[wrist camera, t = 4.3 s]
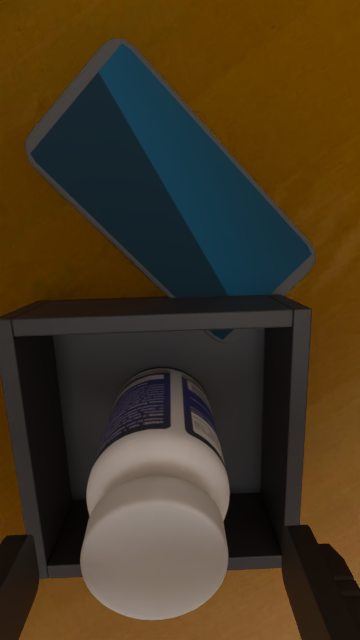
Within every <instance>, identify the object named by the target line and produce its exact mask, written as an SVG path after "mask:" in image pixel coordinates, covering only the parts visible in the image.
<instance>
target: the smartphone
mask: <svg viewBox="0 0 360 640" xmlns="http://www.w3.org/2000/svg"><path fill="white" fill-rule="evenodd" d="M25 147H26V156H27V158H28V159H29V161H30V163H31V164H32V166H33V167H34V168H35V169H36V170H37V171H38V172H39V173H40V174H41V175H42V176H43V177H44V178H45V179H46V180H47V181H48V182H49V183H50V184H52V186H53V187H54V188H55V189H56V190H57V191H58V192H59V193H60V194H61V195H62V196H63V197H64V198H65V199H66V200H67V201H69V202H70V203H71V204H72V205H73V206H74V207H75V208H76V209H77V210H78V211H79V212H80V213H81V214H82V215H83V216H84V217H85V218H86V219H87V220H88V221H89V222H90V223H91V224H92V225H93V226H94V227H96V228H97V229H98V230H99V231H100V232H101V233H102V234H103V235H104V236H105V237H107V238H108V239H109V240H110V241H111V242H112V243H113V244H114V245H115V246H116V247H117V248H118V249H119V250H120V251H121V252H122V253H123V254H124V255H125V256H126V257H127V258H128V259H129V260H130V261H131V262H132V263H134V264H135V265H136V266H137V267H138V268H139V269H140V270H141V271H142V272H143V273H144V274H145V275H146V276H147V277H148V278H149V279H150V280H151V281H152V282H153V283H154V284H155V285H156V286H157V287H158V288H159V289H161V290H162V291H163V292H164V293H165V294H166V295H167V296H168V297H169V298H187V297H216V296H245V295H275V294H280V295H282V296H284V295H285V294H286V293H287V292H288V291H289V290H290V289H291V288H293V287H294V286H295V285H296V284H297V283H298V282H299V281H300V280H301V279H302V278H303V277H304V276H305V275H306V274H307V273H308V272H309V271H310V270H311V268H312V266H313V265H314V263H315V253H316V251H315V250H314V248H313V246H312V244H311V243H310V241H309V240H308V239H307V238H306V237H305V236H304V235H303V234H302V233H301V231H300V230H299V229H298V228H297V227H296V226H295V225H294V224H293V223H292V221H291V220H290V219H289V218H288V217H287V216H286V215H285V214H284V212H283V211H282V210H281V209H280V208H279V207H278V206H277V205H276V204H275V202H274V201H273V200H272V199H271V198H270V197H269V196H268V195H267V194H266V192H265V191H264V190H263V189H262V188H261V187H260V186H259V185H258V183H257V182H256V181H255V180H254V179H253V178H252V177H251V176H250V175H249V173H248V172H247V171H246V170H245V169H244V168H243V167H242V166H241V165H240V163H239V162H238V161H237V160H236V159H235V158H234V157H233V156H232V155H231V153H230V152H229V151H228V150H227V149H226V148H225V147H224V146H223V144H222V143H221V142H220V141H219V140H218V139H217V138H216V137H215V136H214V134H213V133H212V132H211V131H210V130H209V129H208V128H207V127H206V126H205V124H204V123H203V122H202V121H201V120H200V119H199V118H198V117H197V115H196V114H195V113H194V112H193V111H192V110H191V109H190V108H189V107H188V105H187V104H186V103H185V102H184V101H183V100H182V99H181V98H180V96H179V95H178V94H177V93H176V92H175V91H174V90H173V89H172V87H171V86H170V85H169V84H168V83H167V82H166V81H165V80H164V79H163V78H162V76H161V75H160V74H159V73H158V72H157V71H156V70H155V69H154V68H153V66H152V65H151V64H150V63H149V62H148V61H147V60H146V59H145V58H144V56H143V55H142V54H141V53H140V52H139V51H138V50H137V49H136V47H135V46H134V45H132V44H131V43H129V42H127V41H126V40H124V39H111V40H109V41H108V42H106V43H105V44H103V45H102V46H101V47H100V48H99V49H98V51H97V52H96V53H95V54H94V56H93V57H92V58H91V59H90V60H89V62H88V63H87V64H86V65H85V67H84V68H83V69H82V70H81V71H80V73H79V74H78V75H77V76H76V77H75V79H74V80H73V81H72V82H71V84H70V85H69V86H68V87H67V88H66V90H65V91H64V92H63V93H62V94H61V96H60V97H59V98H58V99H57V101H56V102H55V103H54V104H53V105H52V107H51V108H50V109H49V110H48V111H47V113H46V114H45V115H44V116H43V118H42V119H41V120H40V121H39V122H38V124H37V125H36V126H35V127H34V128H33V130H32V131H31V132H30V134H29V136H28V138H27V141H26V143H25ZM247 330H248V329H224V330H203V331H204V332H205V333H206V334H207V335H208V336H209V337H210V338H212V339H213V340H215V341H217V342H218V343H232V342H233V341H235V340H237V339H239V338H240V337H241V336H242V335H243V334H244V333H245V332H246V331H247Z"/></svg>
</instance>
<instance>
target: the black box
mask: <svg viewBox="0 0 360 640" xmlns="http://www.w3.org/2000/svg"><path fill="white" fill-rule="evenodd" d="M311 316H312V309H310V308H308V307H306V306H304V305H302V304H300V303H297V302H295V301H293V300H291V299H289V298H287V297H285V296H282V295H280V294H275V295H245V296H216V297H187V298H169V297H144V298H114V299H84V300H54V301H36V302H34V303H32V304H29V305H27V306H25V307H22V308H20V309H17V310H15V311H13V312H10V313H8V314H5V315H3V316H1V317H0V372H1V379H2V385H3V391H4V398H5V404H6V410H7V417H8V423H9V430H10V436H11V442H12V449H13V455H14V461H15V468H16V474H17V480H18V487H19V493H20V499H21V506H22V512H23V518H24V525H25V531H26V535H32V536H33V538H34V542H35V549H36V555H37V562H38V568H39V579H44V578H48V577H49V578H67V577H83V576H82V572H81V566H80V557H81V549H82V545H83V541H84V537H85V533H86V528H87V524H88V520H89V517H90V516H89V512H88V507H87V499H86V493H87V485H88V480H89V476H90V473H91V469H92V466H93V463H94V460H95V458H96V455H97V452H98V449H99V446H100V443H101V440H102V437H103V434H104V432H105V429H106V426H107V423H108V420H109V417H110V414H111V411H112V408H113V405H114V402H115V399H116V397H117V395H118V393H119V391H120V390H121V388H122V387H123V386H124V385H125V384H126V383H127V382H128V381H129V380H130V379H131V378H133V377H134V376H136V375H137V374H139V373H141V372H144V371H147V370H151V369H156V368H168V369H174V370H177V371H180V372H183V373H185V374H187V375H189V376H190V377H192V378H193V379H194V380H195V381H196V382H197V383H198V384H199V385H200V386H201V387H202V388H203V390H204V391H205V393H206V395H207V397H208V400H209V403H210V406H211V410H212V414H213V418H214V422H215V426H216V430H217V434H218V439H219V443H220V447H221V451H222V455H223V459H224V463H225V467H226V471H227V475H228V482H229V491H230V497H229V505H228V510H227V513H226V516H225V519H224V521H223V522H224V529H225V534H226V539H227V546H228V566H227V570H245V569H268V568H282V565H281V562H282V537H283V527H284V526H288V525H300V508H301V491H302V473H303V456H304V438H305V421H306V403H307V386H308V368H309V351H310V333H311ZM224 329H248V330H247V331H246V332H245V333H244V334H243V335H242V336H241V337H240V338H239V339H237V340H235V341H233V342H232V343H218V342H217V341H215V340H213V339H212V338H210V337H209V336H208V335H207V334H206V333H205V332H204V331H203V330H224Z"/></svg>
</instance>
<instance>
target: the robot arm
mask: <svg viewBox="0 0 360 640" xmlns="http://www.w3.org/2000/svg"><path fill="white" fill-rule="evenodd" d="M281 565H282V575H283V581H284V585H285V589H286V592H287V595H288V598H289V601H290V604H291V608H292V611H293V614H294V617H295V620H296V623H297V626H298V629H299V633H300V636H301V639H302V640H360V588H359V587H358V585H357V583H356V581H354V578H353V575H352V573H351V572H350V570H349V568H348V566H347V564H346V562H345V560H344V559H343V558H342V557H341V556H340V555H339V554H338V553H337V552H336V551H335V550H334V548H333V547H332V546H331V545H330V544H318V543H317V541H316V539H315V537H314V535H313V533H312V531H311V529H310V527H309V526H308V525H288V526H284V527H283V537H282V562H281ZM38 584H39V568H38V562H37V555H36V549H35V542H34V538H33V536H32V535H9V536H6V537H5V538H4V539H3V541H2V543H1V544H0V640H19V637H20V635H21V632H22V629H23V627H24V624H25V622H26V619H27V617H28V614H29V612H30V609H31V607H32V604H33V602H34V599H35V597H36V593H37V589H38Z"/></svg>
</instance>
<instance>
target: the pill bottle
mask: <svg viewBox="0 0 360 640" xmlns="http://www.w3.org/2000/svg"><path fill="white" fill-rule="evenodd" d="M229 497H230V491H229V482H228V475H227V471H226V467H225V463H224V459H223V455H222V451H221V447H220V443H219V439H218V434H217V430H216V426H215V422H214V418H213V414H212V410H211V406H210V403H209V400H208V397H207V395H206V393H205V391H204V390H203V388H202V387H201V386H200V385H199V384H198V383H197V382H196V381H195V380H194V379H193V378H192V377H190V376H189V375H187V374H185V373H183V372H180V371H177V370H174V369H168V368H156V369H151V370H147V371H144V372H141V373H139V374H137V375H136V376H134V377H133V378H131V379H130V380H129V381H128V382H127V383H126V384H125V385H124V386H123V387H122V388H121V390H120V391H119V393H118V395H117V397H116V399H115V402H114V405H113V408H112V411H111V414H110V417H109V420H108V423H107V426H106V429H105V432H104V434H103V437H102V440H101V443H100V446H99V449H98V452H97V455H96V458H95V460H94V463H93V466H92V469H91V473H90V476H89V480H88V485H87V493H86V499H87V507H88V512H89V516H90V517H89V520H88V524H87V528H86V533H85V537H84V541H83V545H82V549H81V557H80V566H81V572H82V576H83V579H84V581H85V583H86V585H87V587H88V589H89V590H90V592H91V593H92V594H93V595H94V596H95V598H96V599H97V600H98V601H100V602H101V603H102V604H103V605H104V606H106V607H108V608H109V609H111V610H113V611H115V612H117V613H119V614H122V615H124V616H127V617H131V618H136V619H142V620H161V619H168V618H173V617H177V616H180V615H183V614H186V613H188V612H190V611H192V610H194V609H196V608H198V607H199V606H201V605H202V604H204V603H205V602H206V601H208V600H209V599H210V598H211V597H212V596H213V594H214V593H215V592H216V591H217V590H218V588H219V587H220V585H221V583H222V582H223V579H224V577H225V574H226V571H227V566H228V546H227V539H226V534H225V529H224V522H223V521H224V519H225V516H226V513H227V510H228V505H229Z"/></svg>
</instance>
